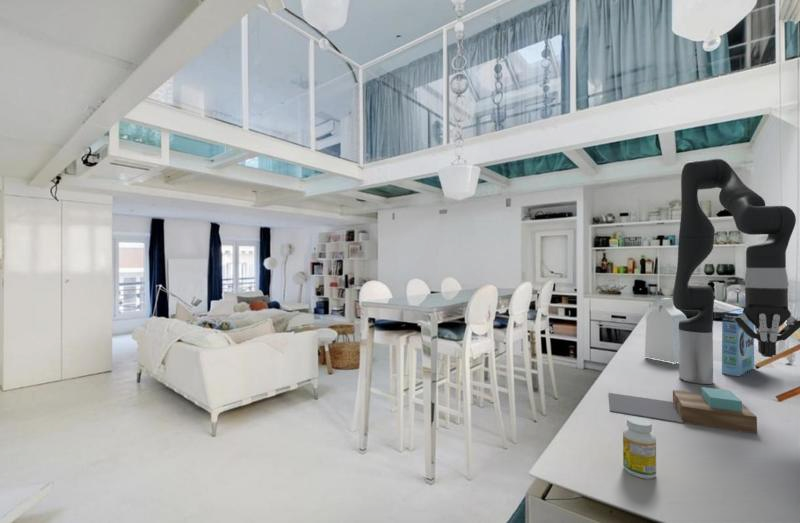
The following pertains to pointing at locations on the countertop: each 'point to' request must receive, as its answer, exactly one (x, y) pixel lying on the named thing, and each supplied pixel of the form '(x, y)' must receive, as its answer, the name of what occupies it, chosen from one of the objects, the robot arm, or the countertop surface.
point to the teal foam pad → (721, 399)
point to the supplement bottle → (639, 448)
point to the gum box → (736, 345)
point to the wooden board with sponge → (712, 413)
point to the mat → (644, 407)
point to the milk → (663, 331)
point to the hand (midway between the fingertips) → (766, 356)
